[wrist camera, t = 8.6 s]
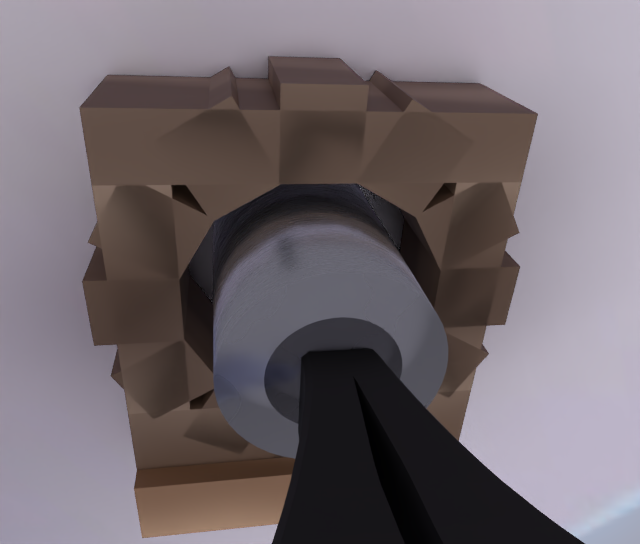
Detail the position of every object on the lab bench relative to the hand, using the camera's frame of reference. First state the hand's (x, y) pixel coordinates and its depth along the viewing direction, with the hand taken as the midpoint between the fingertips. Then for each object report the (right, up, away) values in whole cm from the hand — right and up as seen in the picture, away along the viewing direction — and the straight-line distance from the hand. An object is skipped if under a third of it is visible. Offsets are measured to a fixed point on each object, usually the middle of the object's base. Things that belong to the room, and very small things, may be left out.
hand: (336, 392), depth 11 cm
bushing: (-1, +3, +5) cm, 6 cm away
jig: (-1, +2, +6) cm, 6 cm away
